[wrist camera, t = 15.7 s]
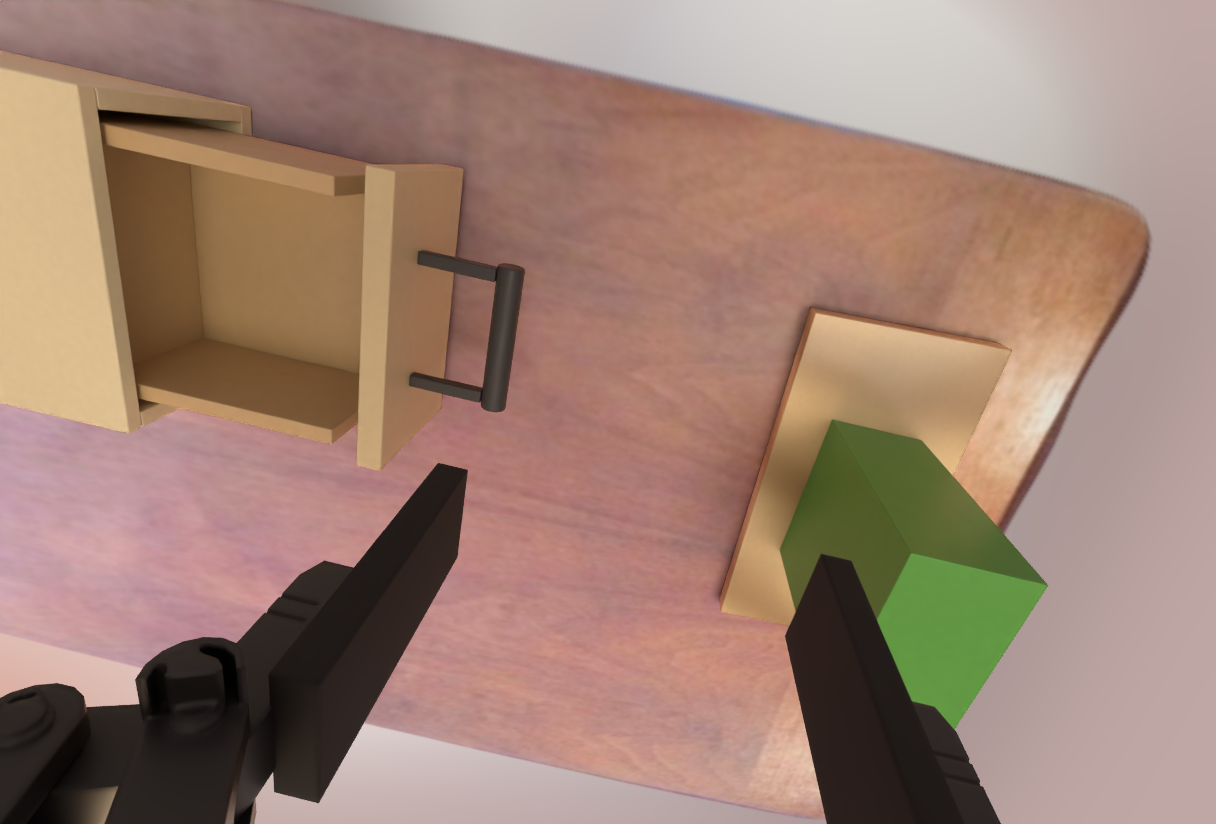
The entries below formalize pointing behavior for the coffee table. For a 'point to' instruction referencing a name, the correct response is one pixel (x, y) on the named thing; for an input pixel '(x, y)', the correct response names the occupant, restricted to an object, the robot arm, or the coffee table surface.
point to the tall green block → (914, 560)
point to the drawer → (294, 283)
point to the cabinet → (72, 238)
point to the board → (861, 395)
